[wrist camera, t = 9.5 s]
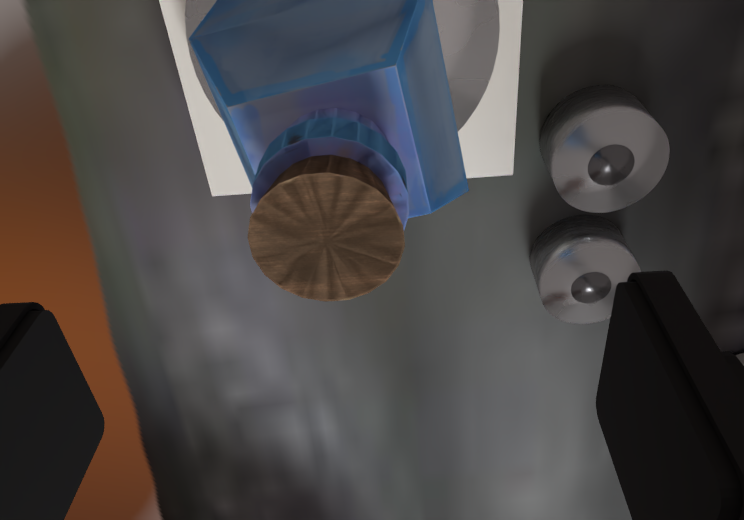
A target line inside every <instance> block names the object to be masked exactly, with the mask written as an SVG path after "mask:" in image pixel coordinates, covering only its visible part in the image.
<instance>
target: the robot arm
mask: <svg viewBox="0 0 744 520" xmlns="http://www.w3.org/2000/svg"><path fill="white" fill-rule="evenodd" d="M596 409H597V415H598V419H599V423H600V426H601V428H602V431H603V434H604V437H605V440H606V443H607V446H608V449H609V452H610V455H611V458H612V461H613V464H614V467H615V470H616V473H617V476H618V479H619V482H620V485H621V487H622V490H623V493H624V496H625V499H626V502H627V505H628V508H629V511H630V514H631V517H632V520H744V353H741V354H738V355H734V354H732V353H730V352H720V350H719V348H718V347H717V345H716V343H715V342H714V340H713V338H712V337H711V335H710V333H709V332H708V330H707V329H706V327H705V325H704V324H703V322H702V320H701V319H700V317H699V315H698V314H697V312H696V310H695V309H694V307H693V305H692V304H691V302H690V301H689V299H688V297H687V296H686V294H685V292H684V291H683V289H682V287H681V286H680V284H679V282H678V281H677V279H676V277H675V276H674V275H673V274H672V272H670V271H653V272H633V273H631V274H630V275H629V277H628V280H627V282H620V283H618V284H617V286H616V290H615V295H614V301H613V307H612V312H611V318H610V323H609V329H608V335H607V340H606V346H605V351H604V357H603V363H602V368H601V374H600V379H599V385H598V391H597V396H596ZM103 432H104V417H103V415H102V412H101V410H100V408H99V406H98V404H97V402H96V400H95V398H94V396H93V394H92V392H91V390H90V388H89V386H88V384H87V382H86V380H85V378H84V376H83V373H82V371H81V370H80V367H79V365H78V363H77V361H76V359H75V357H74V355H73V353H72V351H71V349H70V347H69V345H68V343H67V341H66V339H65V337H64V335H63V333H62V331H61V329H60V326H59V324H58V322H57V320H56V319H55V317H54V315H53V314H52V312H50V311H48V310H44V308H43V306H42V305H40V304H38V303H34V302H29V303H9V304H1V305H0V520H64V518H65V516H66V514H67V512H68V509H69V507H70V505H71V503H72V501H73V499H74V497H75V494H76V492H77V490H78V488H79V486H80V484H81V481H82V479H83V477H84V475H85V473H86V470H87V468H88V466H89V464H90V462H91V460H92V458H93V455H94V453H95V451H96V449H97V446H98V445H99V443H100V440H101V438H102V435H103Z"/></svg>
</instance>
